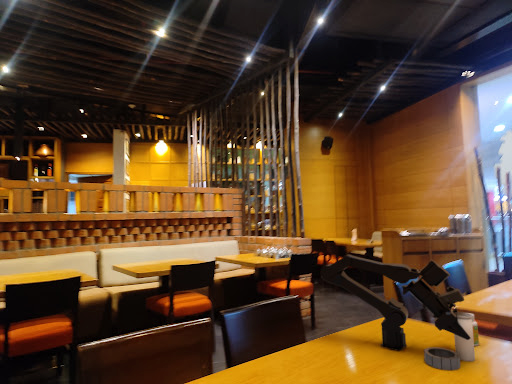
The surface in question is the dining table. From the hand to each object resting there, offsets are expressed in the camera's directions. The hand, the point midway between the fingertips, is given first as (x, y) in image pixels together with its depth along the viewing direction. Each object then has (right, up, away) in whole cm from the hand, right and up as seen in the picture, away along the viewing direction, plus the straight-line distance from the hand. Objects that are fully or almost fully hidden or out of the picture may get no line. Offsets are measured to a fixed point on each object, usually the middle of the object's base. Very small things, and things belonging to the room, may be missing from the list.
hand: (469, 336), depth 102 cm
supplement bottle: (+8, -8, +12) cm, 16 cm away
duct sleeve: (-1, -7, 0) cm, 7 cm away
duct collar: (-10, -6, -4) cm, 13 cm away
